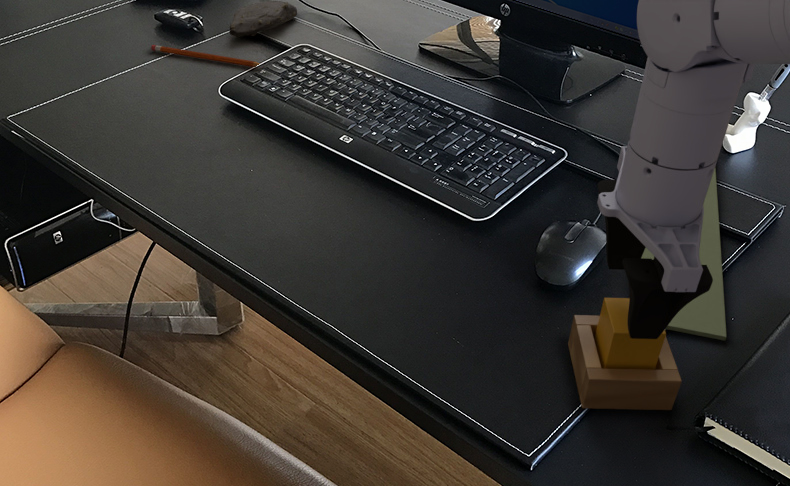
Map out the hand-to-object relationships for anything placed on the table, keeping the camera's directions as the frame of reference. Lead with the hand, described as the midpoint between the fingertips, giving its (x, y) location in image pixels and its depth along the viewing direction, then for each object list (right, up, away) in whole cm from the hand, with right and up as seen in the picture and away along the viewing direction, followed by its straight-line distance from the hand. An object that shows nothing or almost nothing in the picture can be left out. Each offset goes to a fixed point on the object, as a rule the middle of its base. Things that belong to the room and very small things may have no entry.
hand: (631, 299), depth 60 cm
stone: (-38, +37, +60) cm, 80 cm away
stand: (+1, -7, +6) cm, 9 cm away
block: (+1, -7, +6) cm, 9 cm away
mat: (+13, +8, +25) cm, 29 cm away
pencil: (-44, +30, +51) cm, 74 cm away
